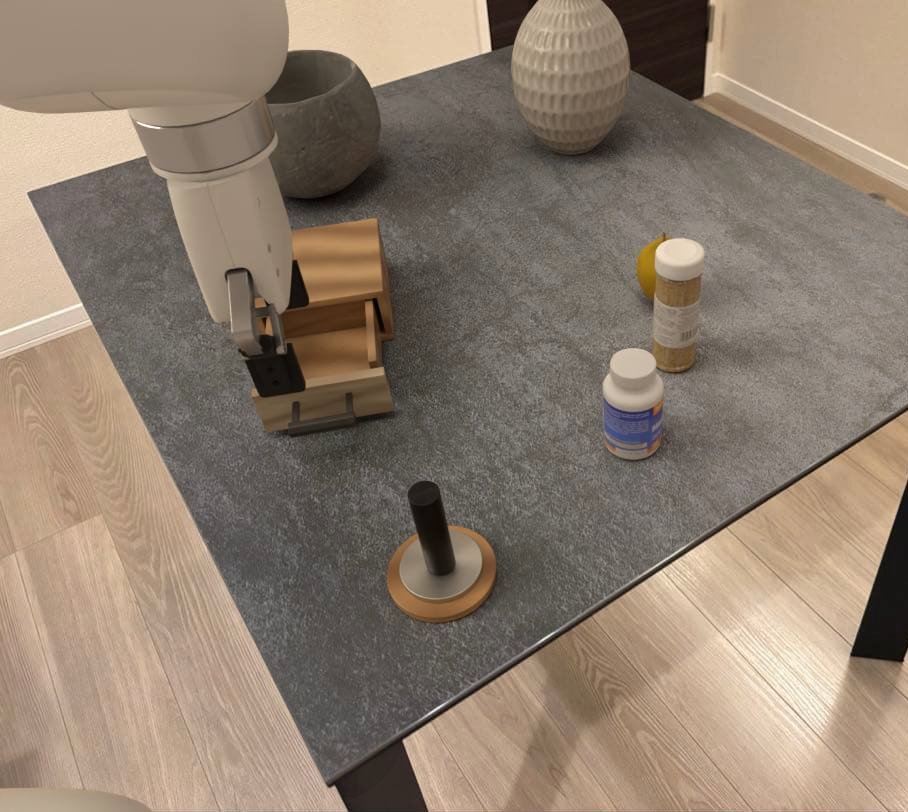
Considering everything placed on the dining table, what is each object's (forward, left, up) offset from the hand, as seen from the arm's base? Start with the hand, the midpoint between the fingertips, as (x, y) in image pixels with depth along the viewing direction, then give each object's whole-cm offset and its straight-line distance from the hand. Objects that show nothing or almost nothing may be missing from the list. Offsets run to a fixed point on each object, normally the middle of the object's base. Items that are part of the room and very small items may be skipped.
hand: (286, 347), depth 61 cm
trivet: (-9, -8, -19) cm, 22 cm away
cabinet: (+30, +1, -19) cm, 35 cm away
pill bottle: (+2, -27, -19) cm, 33 cm away
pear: (+22, -36, -19) cm, 46 cm away
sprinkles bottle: (+12, -34, -19) cm, 41 cm away
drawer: (+15, +1, -18) cm, 23 cm away
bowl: (+61, +3, -19) cm, 64 cm away
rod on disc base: (-9, -8, -18) cm, 22 cm away
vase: (+61, -34, -19) cm, 72 cm away
